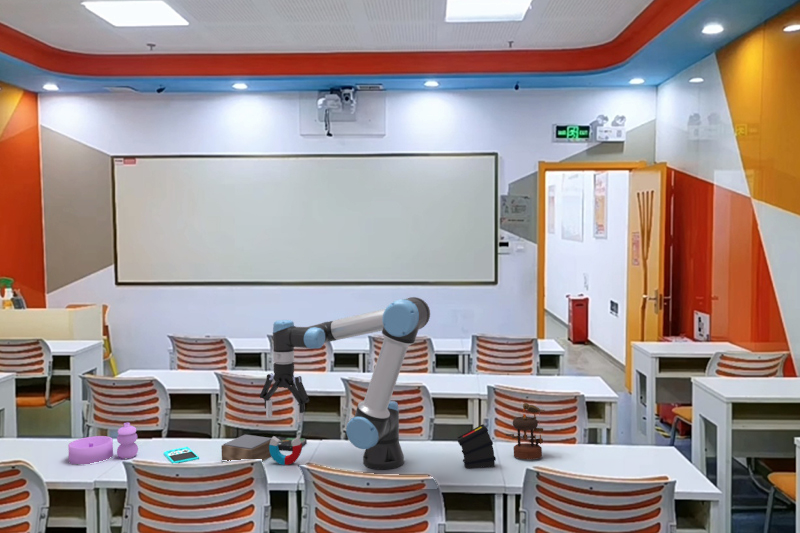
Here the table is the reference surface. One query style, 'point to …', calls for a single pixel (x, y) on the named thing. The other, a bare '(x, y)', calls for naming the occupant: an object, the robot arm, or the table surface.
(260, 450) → the walnut stand
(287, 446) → the disk drive
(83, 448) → the container set
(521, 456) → the music box
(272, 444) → the magnet
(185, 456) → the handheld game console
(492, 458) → the magazine
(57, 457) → the table surface
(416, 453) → the table surface
